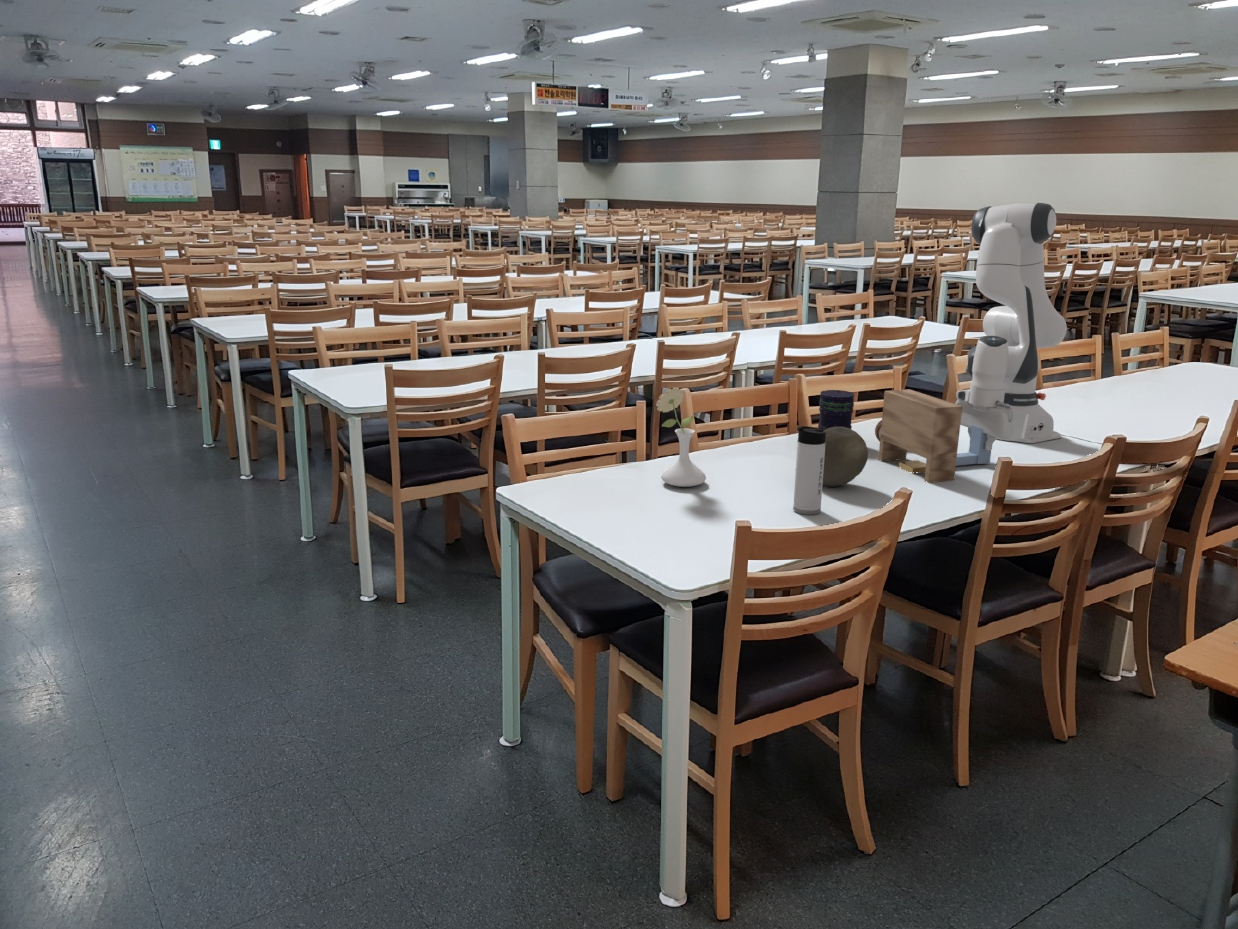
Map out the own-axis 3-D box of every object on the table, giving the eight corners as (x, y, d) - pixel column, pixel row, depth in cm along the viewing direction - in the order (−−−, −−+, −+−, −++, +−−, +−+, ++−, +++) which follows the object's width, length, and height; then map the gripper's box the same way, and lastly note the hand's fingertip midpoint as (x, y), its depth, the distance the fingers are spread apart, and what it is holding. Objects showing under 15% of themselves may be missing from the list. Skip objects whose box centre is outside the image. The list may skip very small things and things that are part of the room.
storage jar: (848, 448, 268) (853, 397, 264) (814, 445, 271) (818, 395, 267) (852, 440, 277) (856, 391, 273) (818, 437, 280) (822, 388, 276)
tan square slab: (917, 467, 252) (917, 460, 251) (931, 473, 246) (931, 466, 246) (898, 469, 250) (899, 462, 249) (912, 475, 244) (912, 468, 244)
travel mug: (788, 506, 218) (793, 424, 212) (816, 506, 218) (821, 423, 212) (795, 515, 212) (801, 430, 206) (823, 515, 212) (830, 430, 206)
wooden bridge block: (903, 457, 259) (910, 389, 254) (955, 479, 239) (963, 406, 234) (878, 460, 257) (884, 390, 251) (927, 482, 237) (935, 408, 231)
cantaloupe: (818, 495, 226) (823, 435, 222) (799, 478, 239) (802, 422, 235) (873, 493, 228) (878, 434, 224) (850, 476, 241) (855, 420, 237)
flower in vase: (698, 476, 241) (701, 381, 234) (711, 489, 230) (715, 390, 223) (649, 478, 238) (651, 383, 231) (660, 492, 227) (663, 392, 220)
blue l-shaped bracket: (979, 459, 257) (984, 424, 254) (989, 462, 253) (994, 427, 250) (932, 463, 252) (936, 428, 249) (942, 467, 248) (946, 431, 245)
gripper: (1023, 404, 241) (1016, 456, 244) (971, 389, 259) (965, 437, 263) (1003, 406, 239) (997, 458, 243) (952, 390, 257) (947, 439, 261)
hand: (980, 447), depth 253 cm, fingers closed on blue l-shaped bracket, 4 cm apart
